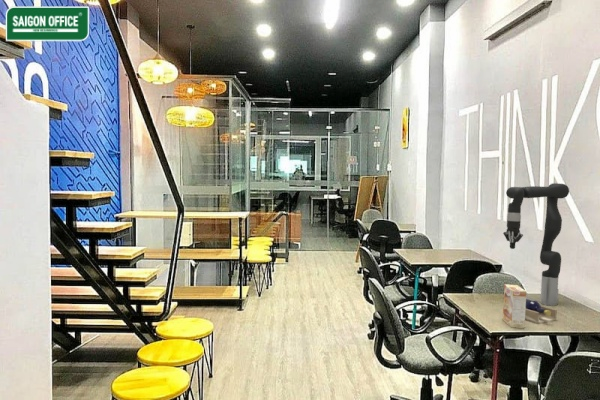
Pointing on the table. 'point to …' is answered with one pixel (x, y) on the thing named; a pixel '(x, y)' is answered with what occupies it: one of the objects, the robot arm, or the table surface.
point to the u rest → (540, 316)
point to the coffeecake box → (514, 306)
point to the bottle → (536, 307)
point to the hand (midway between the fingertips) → (512, 248)
